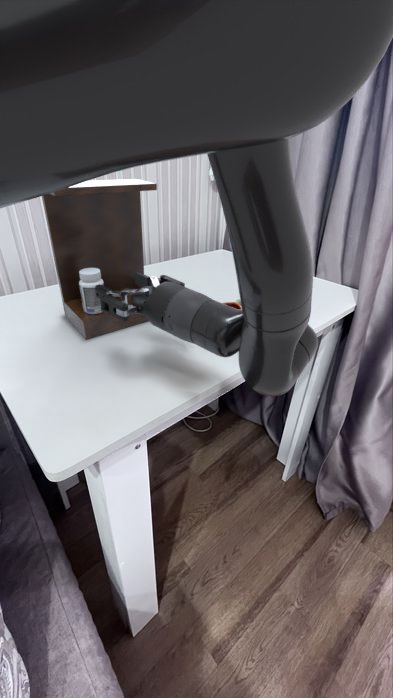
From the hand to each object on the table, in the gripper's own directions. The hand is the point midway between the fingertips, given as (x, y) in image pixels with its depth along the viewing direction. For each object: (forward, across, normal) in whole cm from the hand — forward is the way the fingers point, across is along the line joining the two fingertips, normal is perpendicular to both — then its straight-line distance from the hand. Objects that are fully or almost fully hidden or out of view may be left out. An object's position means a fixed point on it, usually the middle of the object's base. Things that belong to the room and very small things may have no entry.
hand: (117, 283), depth 59 cm
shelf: (+10, -7, +13) cm, 18 cm away
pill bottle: (+9, 0, +9) cm, 13 cm away
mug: (-13, -20, +13) cm, 27 cm away
